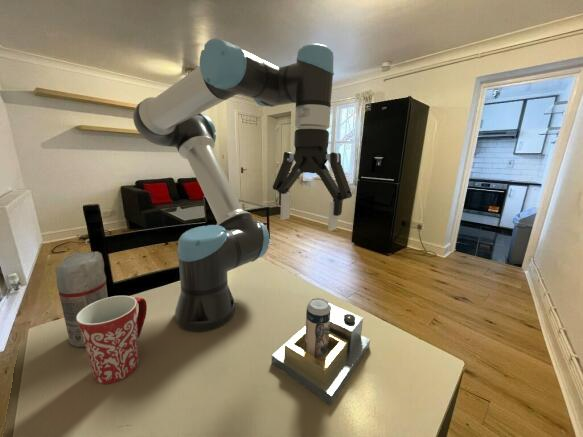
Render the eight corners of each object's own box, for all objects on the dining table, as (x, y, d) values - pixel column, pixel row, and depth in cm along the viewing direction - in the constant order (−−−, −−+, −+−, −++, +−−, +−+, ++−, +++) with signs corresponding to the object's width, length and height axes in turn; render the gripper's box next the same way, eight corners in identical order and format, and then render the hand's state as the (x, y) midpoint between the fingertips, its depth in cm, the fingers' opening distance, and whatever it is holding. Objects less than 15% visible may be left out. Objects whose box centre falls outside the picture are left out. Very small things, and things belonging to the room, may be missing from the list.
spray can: (118, 336, 57) (106, 255, 52) (71, 355, 51) (53, 266, 47) (109, 319, 63) (98, 245, 58) (66, 335, 57) (50, 254, 52)
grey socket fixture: (271, 363, 51) (272, 330, 49) (317, 321, 65) (319, 295, 63) (330, 405, 43) (334, 367, 41) (369, 347, 57) (373, 317, 55)
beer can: (320, 368, 48) (325, 313, 45) (299, 357, 50) (302, 305, 48) (330, 352, 52) (335, 301, 49) (310, 343, 54) (313, 294, 51)
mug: (115, 394, 43) (105, 328, 40) (75, 383, 45) (62, 318, 42) (166, 344, 55) (161, 290, 52) (132, 336, 57) (125, 284, 54)
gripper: (259, 130, 58) (258, 217, 63) (359, 123, 43) (348, 238, 48) (279, 133, 64) (278, 213, 69) (374, 128, 49) (363, 231, 54)
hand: (307, 223), depth 58 cm, fingers open, 13 cm apart
